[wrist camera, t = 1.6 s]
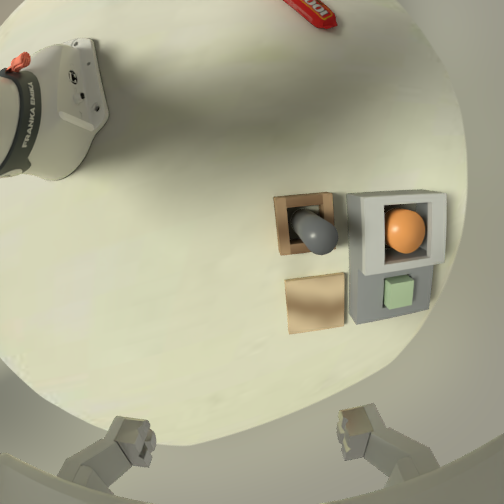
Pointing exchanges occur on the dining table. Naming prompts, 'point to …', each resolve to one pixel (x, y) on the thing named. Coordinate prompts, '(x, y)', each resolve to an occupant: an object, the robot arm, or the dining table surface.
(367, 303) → the grey boxy piece
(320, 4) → the candy bar
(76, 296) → the dining table surface
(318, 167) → the dining table surface
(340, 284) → the pad
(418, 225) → the plunger
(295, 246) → the stand
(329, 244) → the grey rounded rod
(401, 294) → the on button
